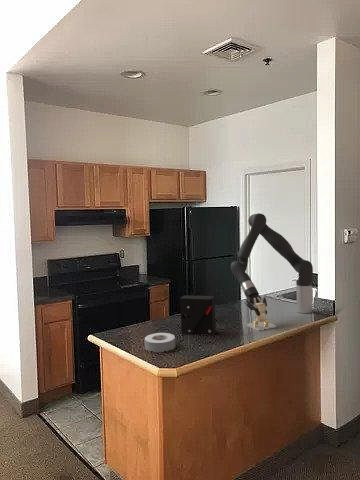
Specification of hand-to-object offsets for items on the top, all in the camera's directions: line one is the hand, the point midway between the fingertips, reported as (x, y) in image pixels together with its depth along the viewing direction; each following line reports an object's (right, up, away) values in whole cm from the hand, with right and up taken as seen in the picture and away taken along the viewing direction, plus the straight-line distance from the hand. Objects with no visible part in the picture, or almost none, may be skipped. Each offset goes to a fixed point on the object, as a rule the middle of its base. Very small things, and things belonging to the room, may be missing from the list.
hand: (262, 314), depth 226 cm
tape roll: (-57, -12, -24) cm, 63 cm away
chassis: (0, -7, +2) cm, 8 cm away
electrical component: (-36, -9, -3) cm, 37 cm away
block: (-1, -4, +2) cm, 5 cm away
